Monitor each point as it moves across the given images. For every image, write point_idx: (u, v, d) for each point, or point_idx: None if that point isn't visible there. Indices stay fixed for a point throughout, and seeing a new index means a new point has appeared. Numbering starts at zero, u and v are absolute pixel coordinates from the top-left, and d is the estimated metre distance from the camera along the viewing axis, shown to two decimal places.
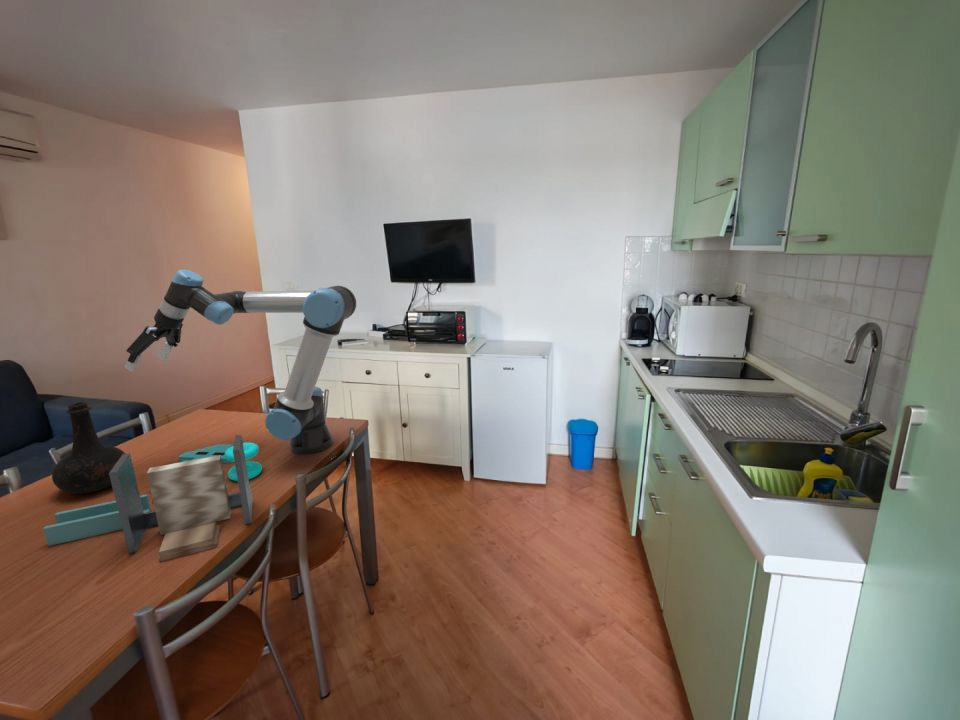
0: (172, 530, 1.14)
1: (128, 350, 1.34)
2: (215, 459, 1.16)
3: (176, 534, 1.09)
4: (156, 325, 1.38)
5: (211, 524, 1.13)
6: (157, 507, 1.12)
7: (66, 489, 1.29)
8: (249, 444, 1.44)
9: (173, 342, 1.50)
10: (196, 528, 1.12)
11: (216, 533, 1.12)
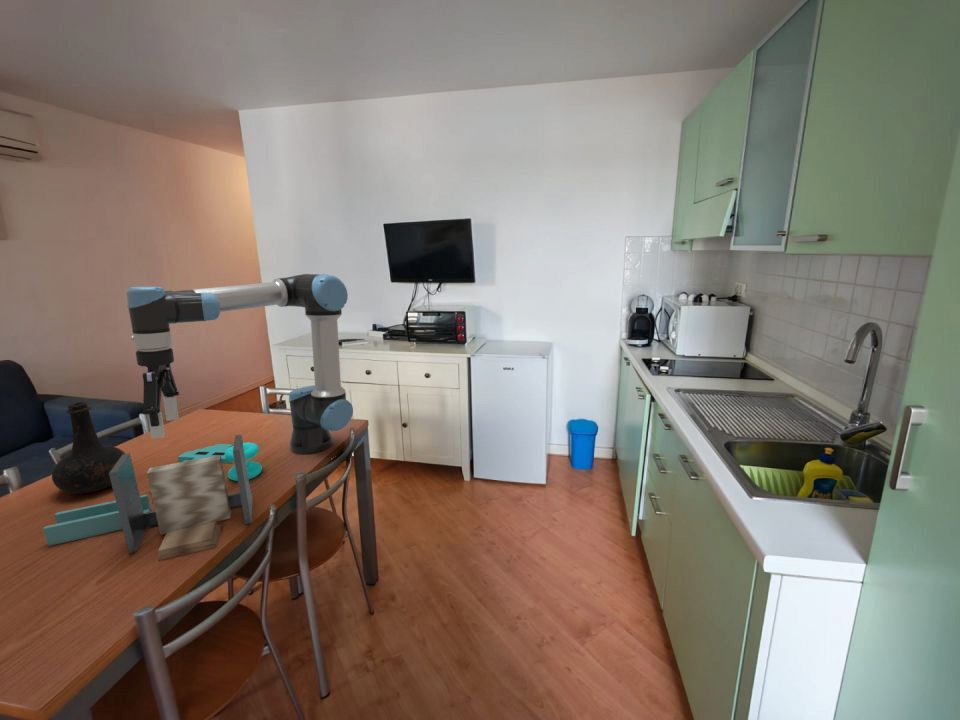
0: (172, 530, 1.14)
1: (145, 410, 1.02)
2: (215, 459, 1.16)
3: (177, 533, 1.10)
4: (150, 369, 1.06)
5: (211, 523, 1.14)
6: (157, 507, 1.12)
7: (66, 489, 1.29)
8: (249, 444, 1.44)
9: (173, 390, 1.17)
10: (197, 527, 1.12)
11: (216, 533, 1.12)
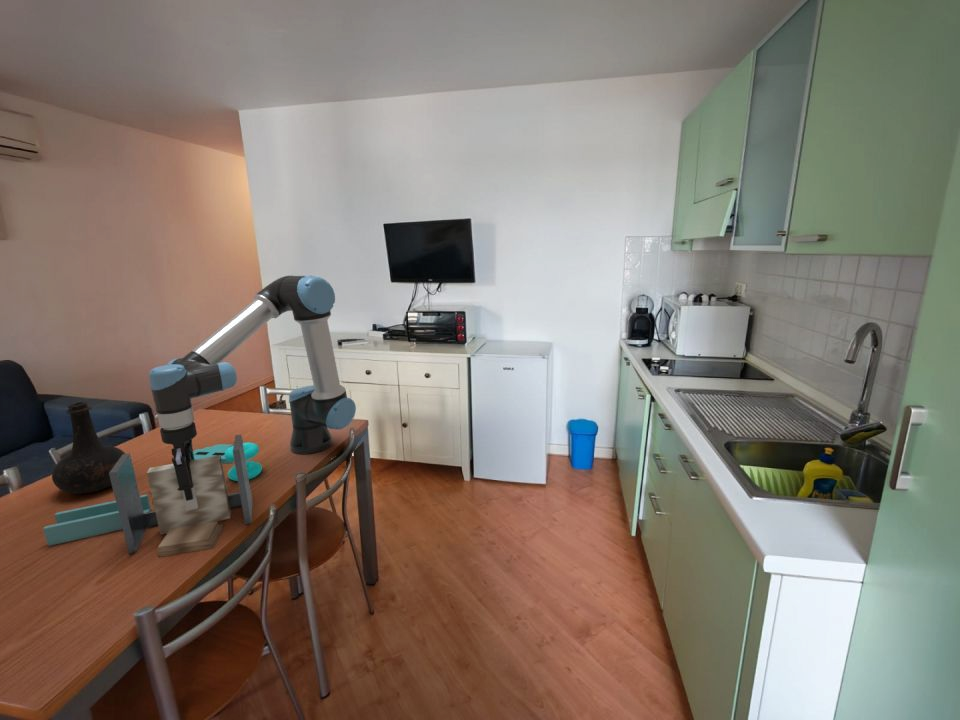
0: None
1: (181, 489, 1.10)
2: (215, 459, 1.16)
3: (179, 530, 1.11)
4: (176, 446, 1.09)
5: (213, 523, 1.14)
6: (157, 507, 1.12)
7: (66, 489, 1.29)
8: (249, 444, 1.44)
9: None
10: (199, 526, 1.13)
11: (216, 533, 1.12)
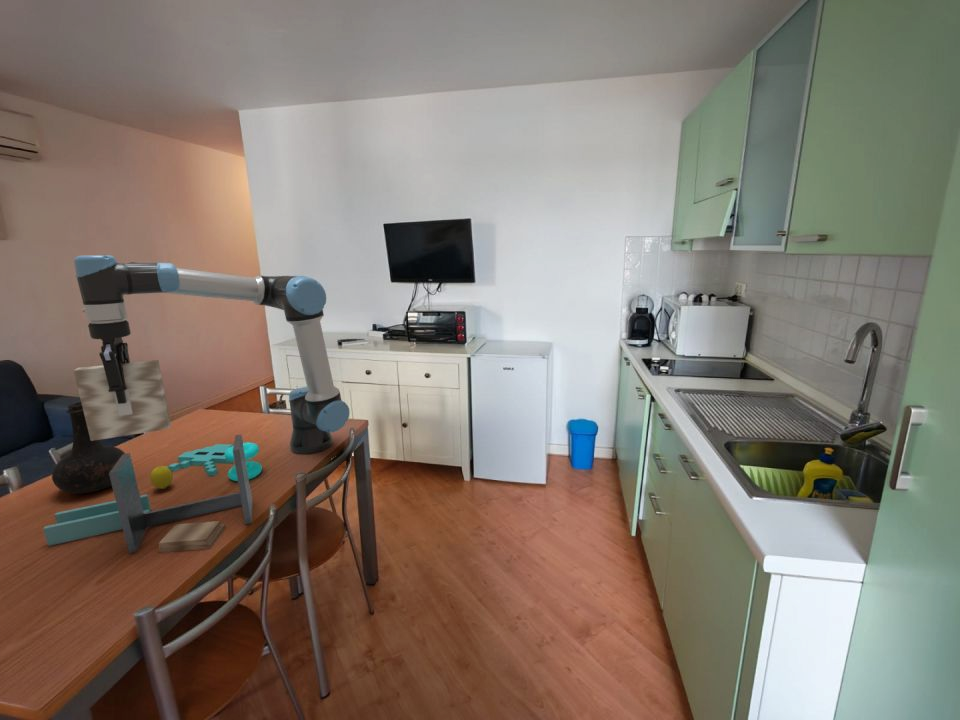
0: (104, 437, 1.07)
1: (111, 388, 1.03)
2: (151, 362, 1.09)
3: (183, 527, 1.12)
4: (105, 341, 1.02)
5: (215, 522, 1.14)
6: (86, 409, 1.04)
7: (66, 489, 1.29)
8: (249, 444, 1.44)
9: None
10: (201, 524, 1.13)
11: (216, 533, 1.12)
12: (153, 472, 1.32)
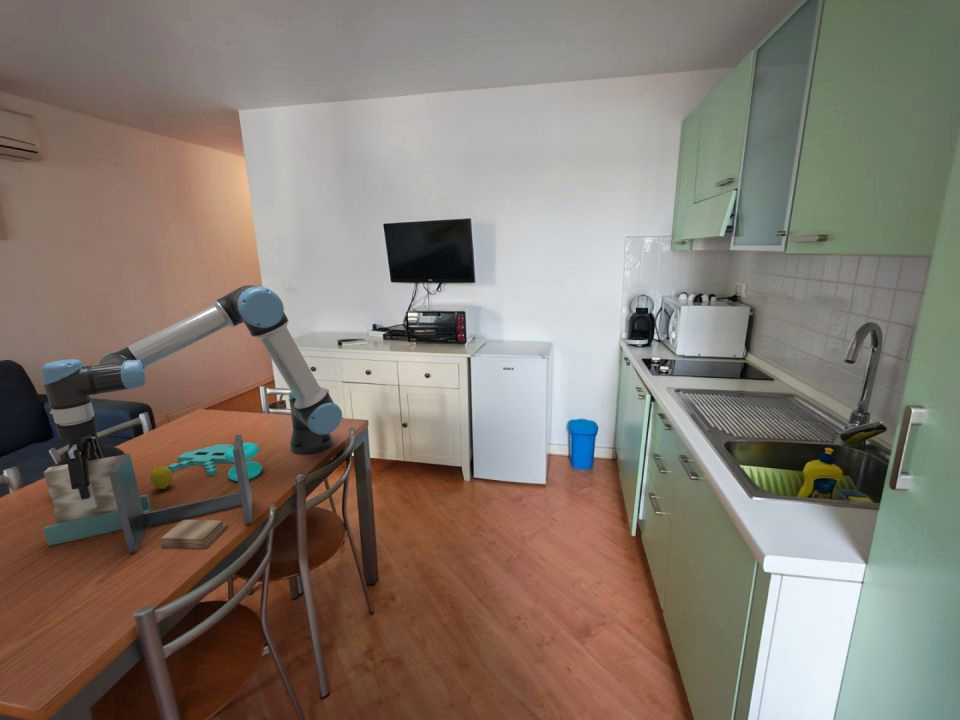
0: None
1: (73, 486, 1.06)
2: (119, 458, 1.15)
3: (188, 524, 1.14)
4: (72, 442, 1.07)
5: (217, 521, 1.14)
6: (57, 506, 1.11)
7: None
8: (249, 444, 1.44)
9: None
10: (205, 522, 1.14)
11: (216, 533, 1.12)
12: (153, 472, 1.32)
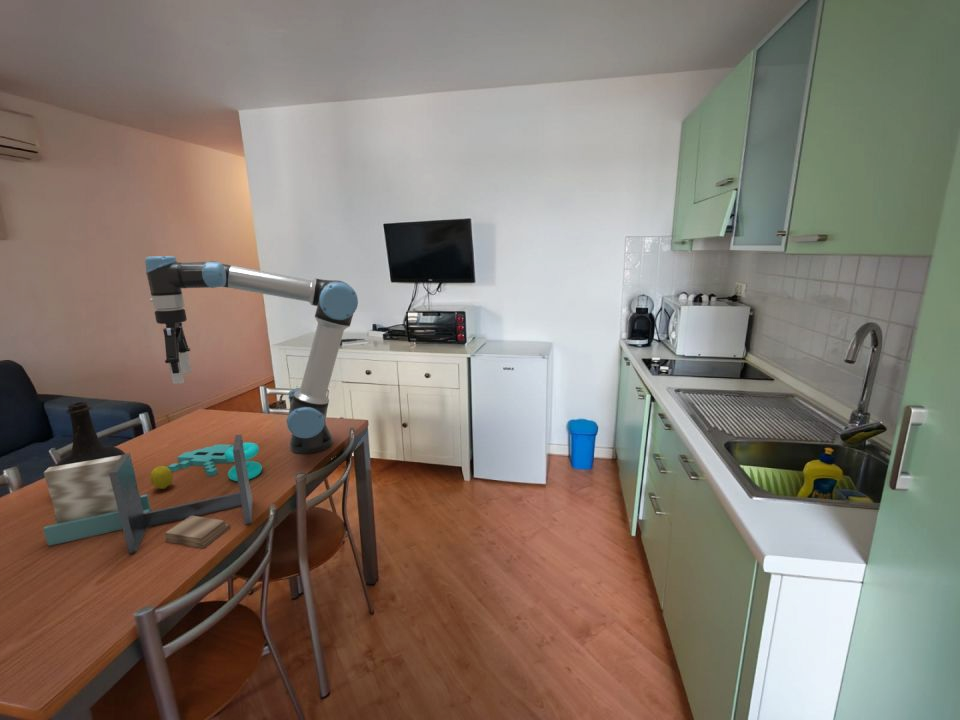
0: None
1: (168, 358, 1.22)
2: (119, 458, 1.15)
3: (193, 520, 1.15)
4: (168, 325, 1.26)
5: (220, 521, 1.15)
6: (57, 506, 1.11)
7: None
8: (249, 444, 1.44)
9: (185, 346, 1.37)
10: (209, 520, 1.15)
11: (217, 533, 1.12)
12: (153, 472, 1.32)
